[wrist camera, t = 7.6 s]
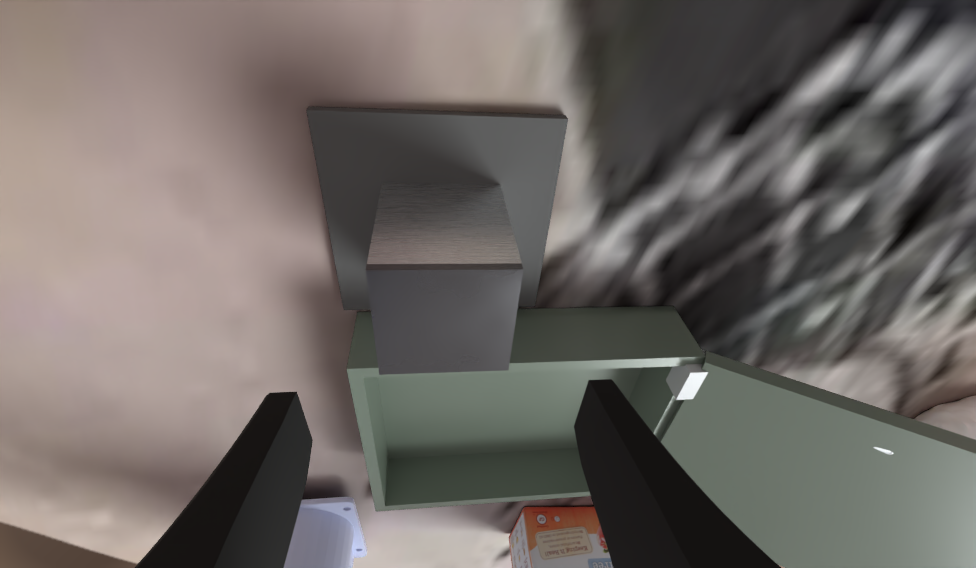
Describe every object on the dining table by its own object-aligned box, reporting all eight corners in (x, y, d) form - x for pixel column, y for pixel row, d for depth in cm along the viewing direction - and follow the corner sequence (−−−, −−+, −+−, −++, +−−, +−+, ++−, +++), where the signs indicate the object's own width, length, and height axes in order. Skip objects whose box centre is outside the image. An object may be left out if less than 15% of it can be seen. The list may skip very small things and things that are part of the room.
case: (783, 433, 33) (913, 620, 24) (380, 457, 29) (359, 685, 20) (896, 301, 24) (1156, 510, 16) (357, 311, 21) (305, 587, 12)
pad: (533, 301, 22) (534, 306, 21) (345, 304, 21) (343, 310, 20) (565, 115, 16) (568, 119, 16) (308, 106, 15) (306, 110, 15)
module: (491, 275, 20) (508, 370, 16) (390, 276, 19) (379, 374, 15) (500, 184, 17) (523, 269, 13) (382, 182, 17) (365, 270, 12)
